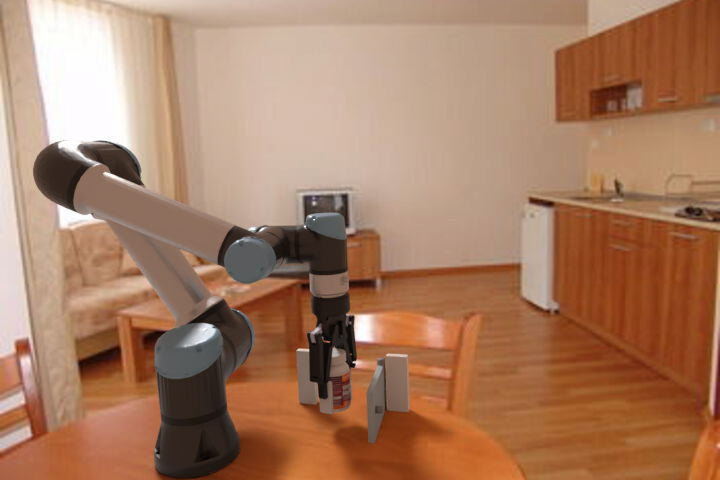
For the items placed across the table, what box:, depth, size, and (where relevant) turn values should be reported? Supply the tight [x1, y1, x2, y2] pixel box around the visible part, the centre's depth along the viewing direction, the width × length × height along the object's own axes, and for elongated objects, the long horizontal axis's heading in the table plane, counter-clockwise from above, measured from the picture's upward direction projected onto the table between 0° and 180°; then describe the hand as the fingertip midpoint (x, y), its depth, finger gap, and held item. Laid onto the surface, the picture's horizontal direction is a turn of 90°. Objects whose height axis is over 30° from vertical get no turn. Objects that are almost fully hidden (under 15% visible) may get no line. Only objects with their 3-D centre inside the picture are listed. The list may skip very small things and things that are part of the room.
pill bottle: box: [329, 347, 352, 413], centre depth 112 cm, size 6×6×11 cm
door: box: [365, 357, 388, 444], centre depth 112 cm, size 15×3×11 cm, turn 169°
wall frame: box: [295, 348, 411, 413], centre depth 121 cm, size 24×2×12 cm, turn 75°
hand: (336, 405), depth 113 cm, fingers closed on pill bottle, 6 cm apart
